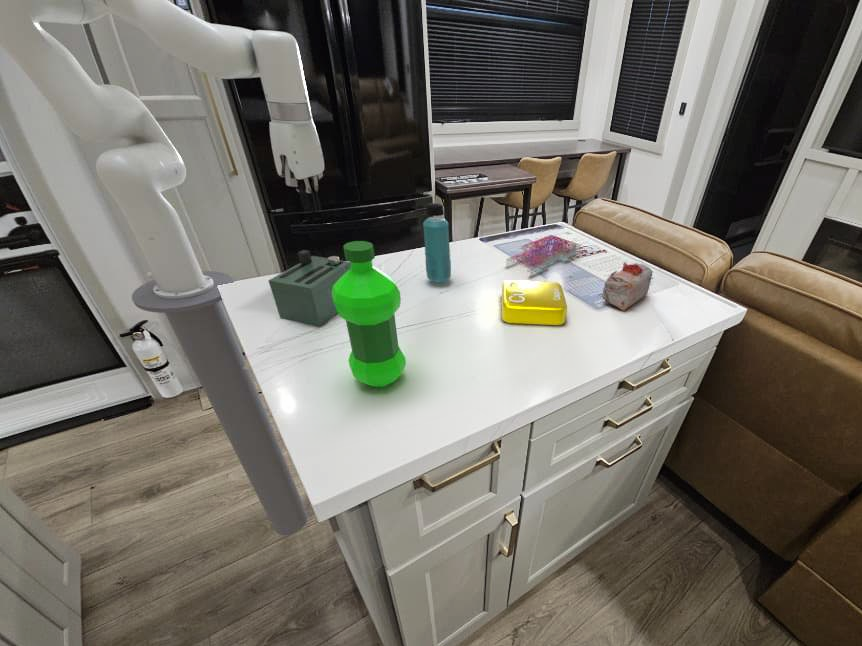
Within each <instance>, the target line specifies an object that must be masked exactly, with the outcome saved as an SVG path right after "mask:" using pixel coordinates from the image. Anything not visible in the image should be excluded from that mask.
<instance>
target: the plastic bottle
mask: <svg viewBox="0 0 862 646" xmlns="http://www.w3.org/2000/svg"><path fill="white" fill-rule="evenodd" d="M342 248H343V252H344V258H345V260H346V262H350V265H351V268H350V269H349V270H348V271H347V272H346V273H345V274H344V275H343V276H342V277H341V278H340V279H339V280H338V281H337V282H336V283H335V284H334V285H333V288H332V293H331V294H332V298H333V302H334V304H335V307H336V309H337V311H338V313H337V314H338V315H339V317H340V318H341V319H343V320H345V323H346V329H347V333H348V338H349V342H350V347H351V352H350V354H349V358H348V366H349V369H350V370H351V373H352V376H353V377H354V379H356V381H358V382H360V383H362V384H365V385H368V386H371V387H373V388H385V387H387V386H389V385H391V384H392V383H393V382H395V381H397V380H398V379H399V378H400V377H401V375H402V373H403V372H404V370H405V368H406V365H407V360H406V356H405V355H404V353H403V351H402V349H401V348H400V345H399V341H398V332H397V324H396V315H395V313H396V312H397V311H398V310H399V308H400V307H401V301H402V298H401V297H402V296H401V291H400V289H399V288H398V286H397V284H396V282H395V281H394V279H393V278H392V277H391V276H390V275H388V274H387V273H385V272H384V271H382V270H380V269H379V268H377V267H376V266H374V265H373V260H374V259H376V256H375V249H374V244H373V243H372V242H369V241H365V240H354V241H350V242H346V243H345V244H343V246H342Z"/></svg>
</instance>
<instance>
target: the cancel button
mask: <svg viewBox="0 0 862 646" xmlns="http://www.w3.org/2000/svg"><path fill="white" fill-rule="evenodd" d="M327 258H328V262H329V266H335V267H337V266H339V265H340V257H339V256H337V255H332V256H328V257H327Z"/></svg>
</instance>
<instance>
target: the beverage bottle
mask: <svg viewBox="0 0 862 646" xmlns="http://www.w3.org/2000/svg"><path fill="white" fill-rule="evenodd" d="M425 211H426V215H427V216H430V217H426V219H425V220H424V221H423V223H422V226H423V238H424V239H423V240H424V257H425V272H426V277H427V280H429V281H431V282H434V283H443V282H447V281H449V280H450V279H451V276H452V265H451V262H452V261H451V249H450V248H451V246H450V232H449V230H450V229H449V225H450V224H449V222H448V221H447V220H446V219H445V218H444V217H441V216H443V215H444V214H445V213H444V212H445V211H444V206H443V204H441V203H437V202H430V203H427V204H426V209H425Z"/></svg>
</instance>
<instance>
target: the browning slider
mask: <svg viewBox="0 0 862 646" xmlns="http://www.w3.org/2000/svg"><path fill="white" fill-rule="evenodd" d="M297 257H298V259H299V263H300V264H306V265H307V264H308V263H310V262H312V260H311V257H312V255H311V252H310V250H307V249H302V250H301V251H298V252H297Z"/></svg>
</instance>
